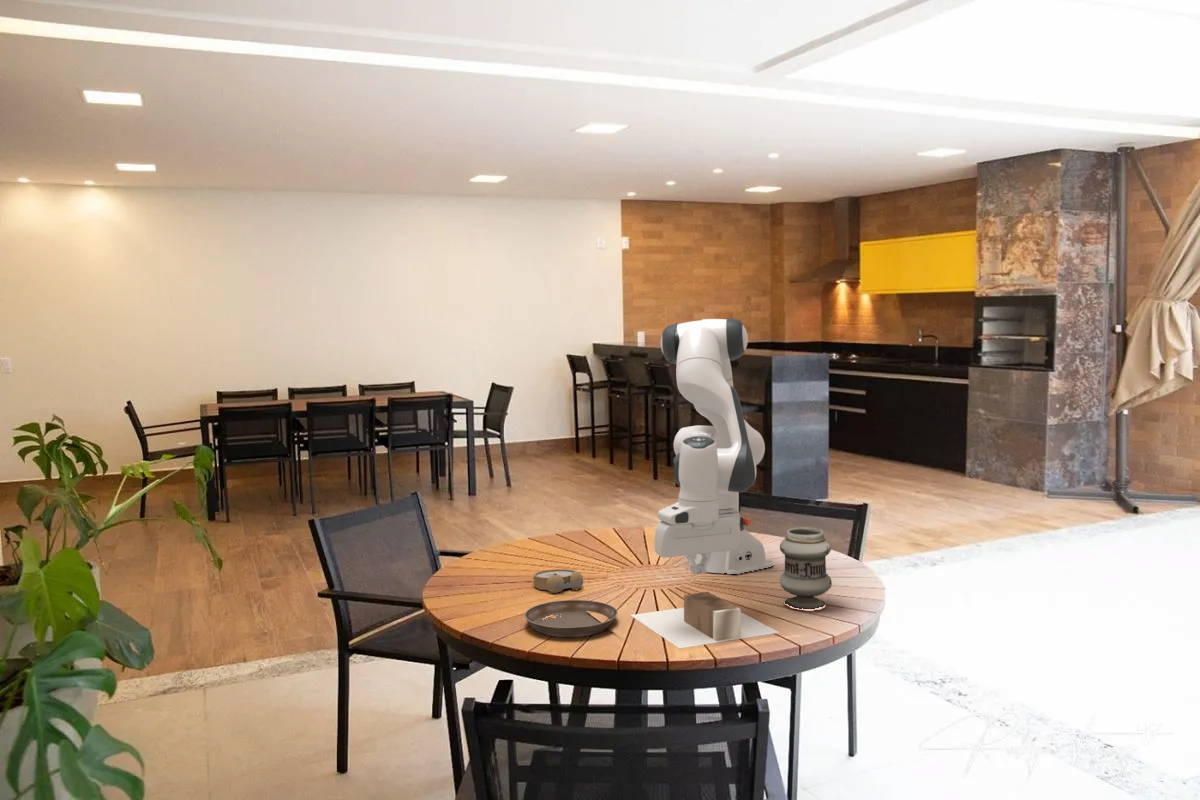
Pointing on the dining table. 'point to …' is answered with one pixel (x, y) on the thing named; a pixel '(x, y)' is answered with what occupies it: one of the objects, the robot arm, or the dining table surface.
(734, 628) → the walnut block
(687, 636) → the white mat
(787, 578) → the apothecary jar
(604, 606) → the plant saucer
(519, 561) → the dining table surface
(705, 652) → the dining table surface
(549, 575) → the alarm clock
